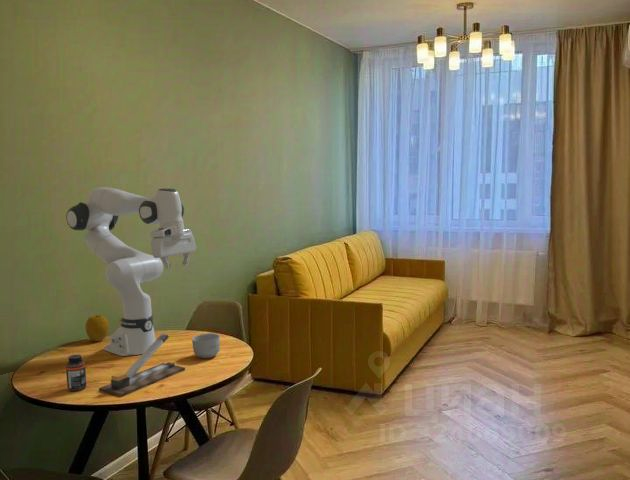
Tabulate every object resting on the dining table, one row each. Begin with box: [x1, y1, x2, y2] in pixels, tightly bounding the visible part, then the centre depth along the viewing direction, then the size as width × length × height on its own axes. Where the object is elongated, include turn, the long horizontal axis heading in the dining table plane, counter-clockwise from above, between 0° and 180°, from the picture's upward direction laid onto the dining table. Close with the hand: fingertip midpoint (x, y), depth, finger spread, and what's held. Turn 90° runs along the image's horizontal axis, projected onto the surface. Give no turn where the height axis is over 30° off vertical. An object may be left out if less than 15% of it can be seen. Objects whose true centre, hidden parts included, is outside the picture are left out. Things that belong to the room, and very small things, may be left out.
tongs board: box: [98, 361, 186, 398], centre depth 192 cm, size 29×11×4 cm, turn 150°
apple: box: [85, 314, 110, 343], centre depth 243 cm, size 10×10×12 cm
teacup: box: [191, 332, 221, 359], centre depth 220 cm, size 14×11×8 cm
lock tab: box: [111, 371, 127, 381], centre depth 183 cm, size 4×3×1 cm
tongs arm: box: [125, 333, 169, 379], centre depth 193 cm, size 21×3×1 cm, turn 150°
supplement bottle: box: [65, 354, 87, 392], centre depth 185 cm, size 6×6×11 cm
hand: (177, 266), depth 209 cm, fingers open, 8 cm apart
